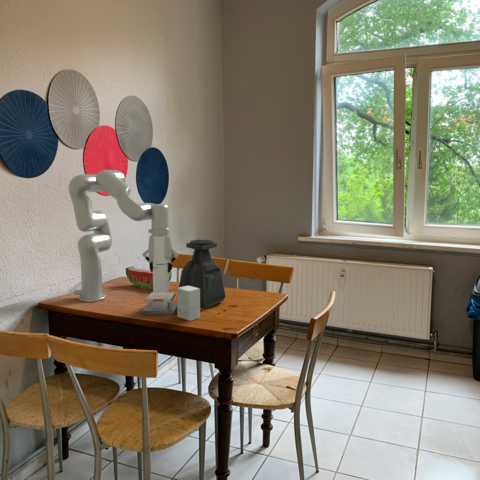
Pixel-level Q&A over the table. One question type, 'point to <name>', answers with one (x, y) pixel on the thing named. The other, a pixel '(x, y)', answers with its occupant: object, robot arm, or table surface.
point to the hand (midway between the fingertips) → (160, 271)
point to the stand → (160, 304)
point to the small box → (188, 302)
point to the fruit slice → (141, 277)
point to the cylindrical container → (160, 267)
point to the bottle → (203, 274)
